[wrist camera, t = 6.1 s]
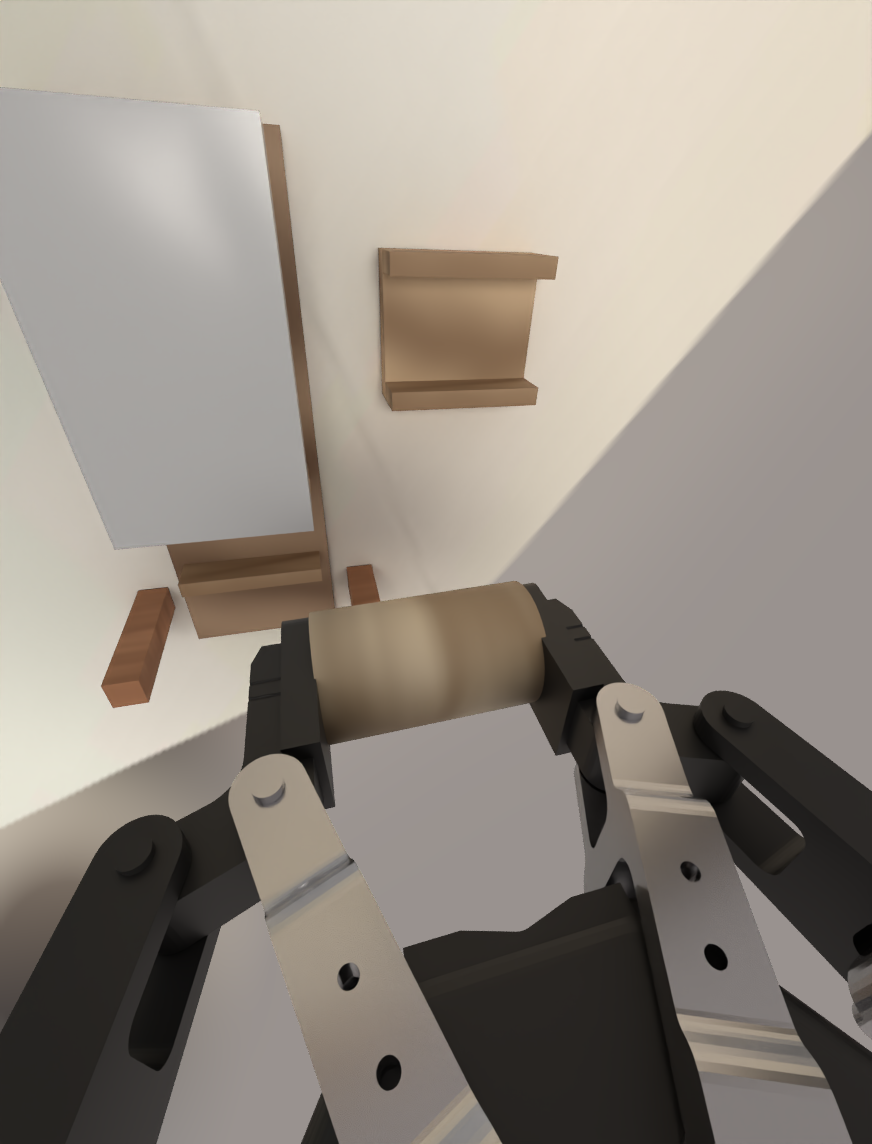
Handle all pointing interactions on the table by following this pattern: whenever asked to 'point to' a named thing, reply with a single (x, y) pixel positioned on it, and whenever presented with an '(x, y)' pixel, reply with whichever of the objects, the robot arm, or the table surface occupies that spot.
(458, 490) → the table surface
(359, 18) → the table surface
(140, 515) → the slab
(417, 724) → the dowel
